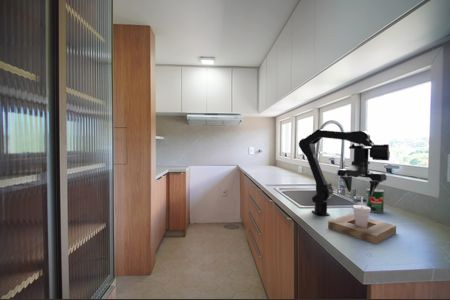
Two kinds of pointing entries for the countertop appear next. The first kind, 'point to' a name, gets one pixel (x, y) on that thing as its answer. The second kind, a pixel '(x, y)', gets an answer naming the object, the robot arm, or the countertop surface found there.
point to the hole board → (363, 228)
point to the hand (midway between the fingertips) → (359, 193)
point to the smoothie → (361, 214)
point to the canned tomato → (375, 200)
